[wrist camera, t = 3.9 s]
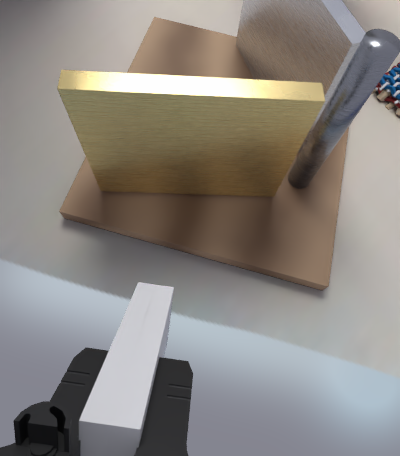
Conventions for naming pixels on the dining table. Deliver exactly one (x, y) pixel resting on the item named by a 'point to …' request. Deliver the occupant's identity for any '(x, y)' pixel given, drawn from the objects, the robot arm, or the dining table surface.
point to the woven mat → (390, 88)
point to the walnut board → (220, 204)
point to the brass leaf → (189, 130)
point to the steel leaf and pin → (316, 64)
